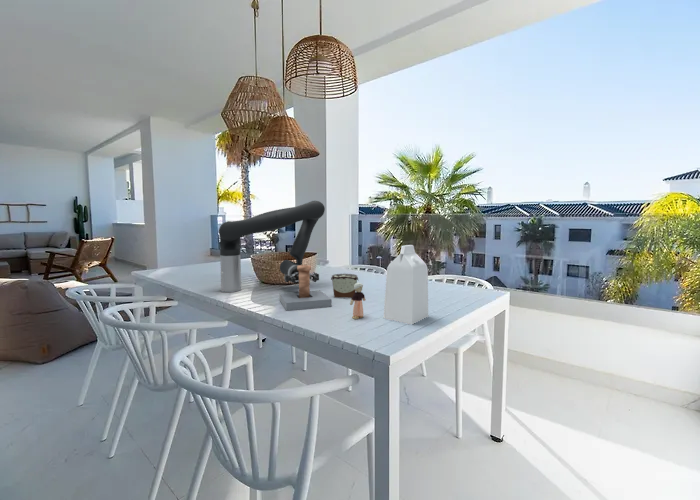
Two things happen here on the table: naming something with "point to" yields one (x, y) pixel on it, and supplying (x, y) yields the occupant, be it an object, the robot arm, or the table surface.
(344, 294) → the food container
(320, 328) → the table surface
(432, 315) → the table surface
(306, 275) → the headed peg
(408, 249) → the milk
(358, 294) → the grandmother figurine
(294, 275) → the robot arm
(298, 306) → the socket block
